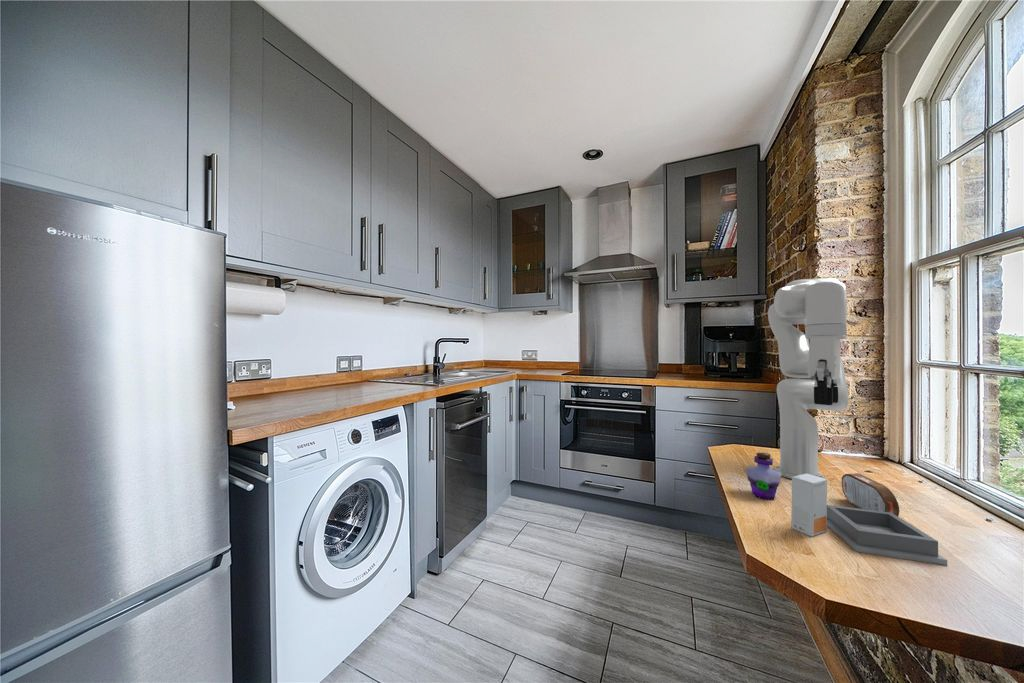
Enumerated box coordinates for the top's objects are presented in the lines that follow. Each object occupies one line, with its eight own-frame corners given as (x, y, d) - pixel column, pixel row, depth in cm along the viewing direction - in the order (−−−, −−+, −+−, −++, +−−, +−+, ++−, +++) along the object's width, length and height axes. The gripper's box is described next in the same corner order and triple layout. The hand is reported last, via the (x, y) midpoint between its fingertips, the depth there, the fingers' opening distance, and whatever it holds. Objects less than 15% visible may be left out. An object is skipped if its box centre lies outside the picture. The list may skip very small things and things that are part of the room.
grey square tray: (819, 519, 84) (819, 502, 84) (893, 528, 80) (893, 511, 80) (856, 551, 71) (856, 531, 71) (947, 565, 67) (947, 544, 67)
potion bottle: (750, 500, 95) (750, 456, 95) (741, 487, 103) (741, 447, 103) (788, 505, 92) (788, 459, 92) (775, 492, 100) (775, 450, 100)
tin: (901, 527, 81) (900, 491, 81) (885, 525, 81) (884, 490, 82) (852, 499, 96) (851, 469, 96) (838, 498, 96) (838, 468, 96)
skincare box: (812, 537, 76) (812, 483, 76) (790, 528, 80) (790, 476, 80) (828, 532, 78) (827, 479, 79) (805, 523, 82) (805, 472, 82)
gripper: (811, 335, 93) (812, 399, 92) (798, 330, 82) (799, 403, 81) (850, 335, 87) (852, 403, 86) (842, 329, 76) (843, 407, 75)
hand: (826, 403), depth 84 cm, fingers open, 9 cm apart
